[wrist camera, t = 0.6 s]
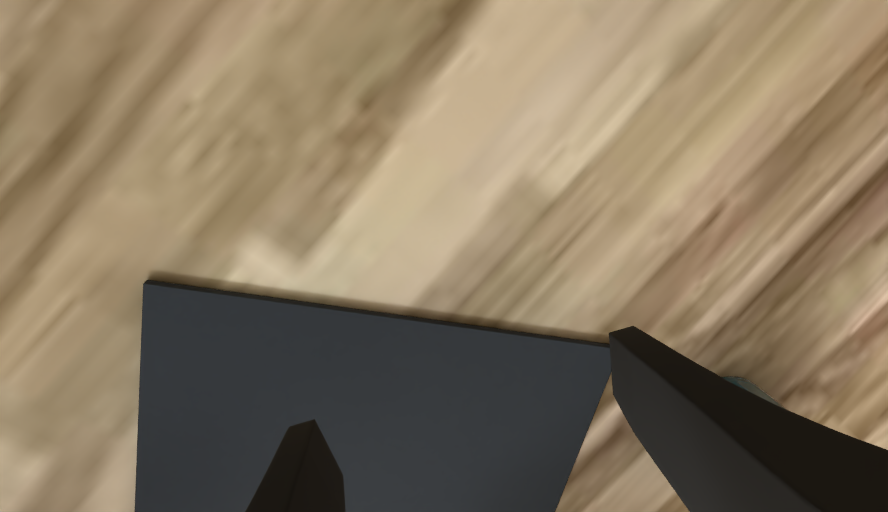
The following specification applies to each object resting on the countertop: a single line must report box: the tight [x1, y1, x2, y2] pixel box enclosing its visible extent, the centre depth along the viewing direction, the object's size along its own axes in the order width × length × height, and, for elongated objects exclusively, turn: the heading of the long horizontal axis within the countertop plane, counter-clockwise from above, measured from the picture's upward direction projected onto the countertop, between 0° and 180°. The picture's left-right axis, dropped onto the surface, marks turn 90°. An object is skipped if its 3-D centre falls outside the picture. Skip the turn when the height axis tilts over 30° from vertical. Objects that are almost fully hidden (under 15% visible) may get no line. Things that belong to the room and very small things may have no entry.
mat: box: [135, 280, 611, 512], centre depth 24 cm, size 14×22×1 cm, turn 76°
